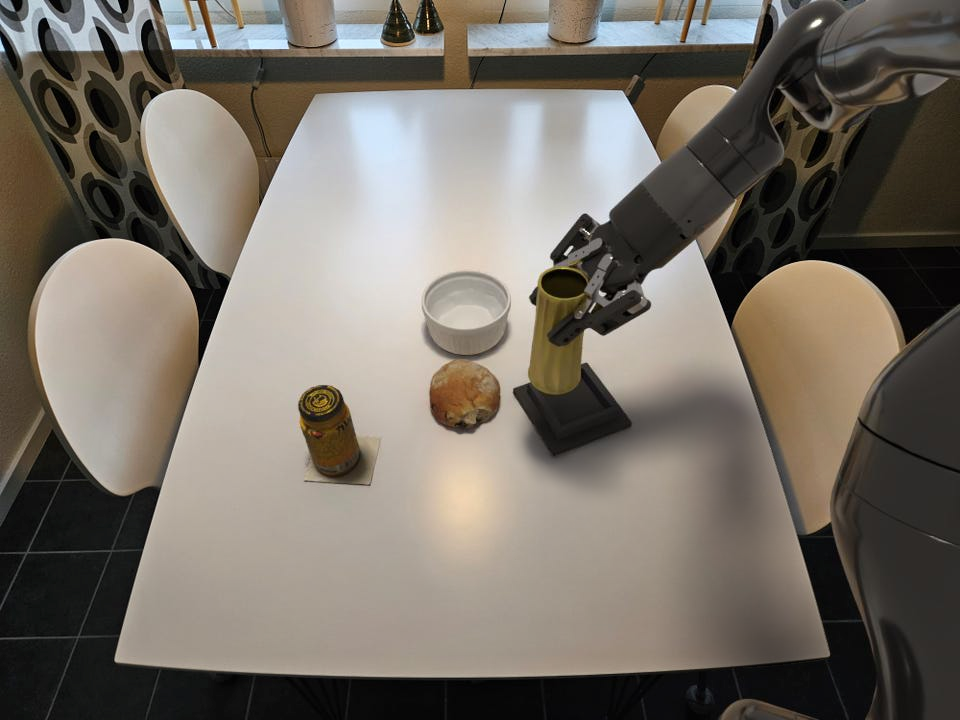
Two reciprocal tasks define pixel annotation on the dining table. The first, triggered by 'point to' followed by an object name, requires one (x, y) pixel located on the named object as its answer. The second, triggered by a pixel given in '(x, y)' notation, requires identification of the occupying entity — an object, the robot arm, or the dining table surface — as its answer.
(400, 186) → the dining table surface
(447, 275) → the ramekin
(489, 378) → the bread roll
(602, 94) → the dining table surface
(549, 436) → the base pad
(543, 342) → the vase
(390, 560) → the dining table surface
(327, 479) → the condiment
